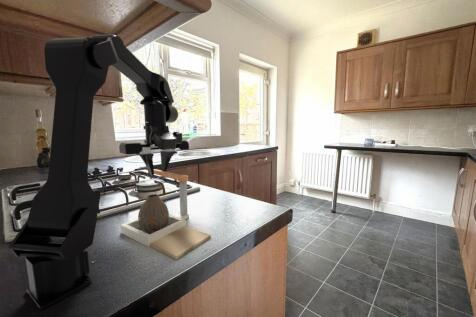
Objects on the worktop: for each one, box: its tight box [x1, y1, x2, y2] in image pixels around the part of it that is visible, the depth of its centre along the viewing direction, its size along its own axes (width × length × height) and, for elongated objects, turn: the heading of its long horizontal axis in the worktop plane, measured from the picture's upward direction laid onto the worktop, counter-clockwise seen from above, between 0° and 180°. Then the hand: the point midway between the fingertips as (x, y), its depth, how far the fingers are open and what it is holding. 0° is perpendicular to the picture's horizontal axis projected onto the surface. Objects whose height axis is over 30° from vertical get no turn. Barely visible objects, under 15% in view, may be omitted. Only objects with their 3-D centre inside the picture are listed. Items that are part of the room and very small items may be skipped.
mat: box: [149, 225, 212, 260], centre depth 48 cm, size 10×10×1 cm
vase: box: [137, 193, 170, 235], centre depth 52 cm, size 7×7×9 cm
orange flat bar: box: [154, 168, 189, 182], centre depth 63 cm, size 16×3×1 cm, turn 52°
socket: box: [120, 181, 190, 247], centre depth 54 cm, size 16×11×10 cm
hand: (158, 175), depth 65 cm, fingers open, 3 cm apart
